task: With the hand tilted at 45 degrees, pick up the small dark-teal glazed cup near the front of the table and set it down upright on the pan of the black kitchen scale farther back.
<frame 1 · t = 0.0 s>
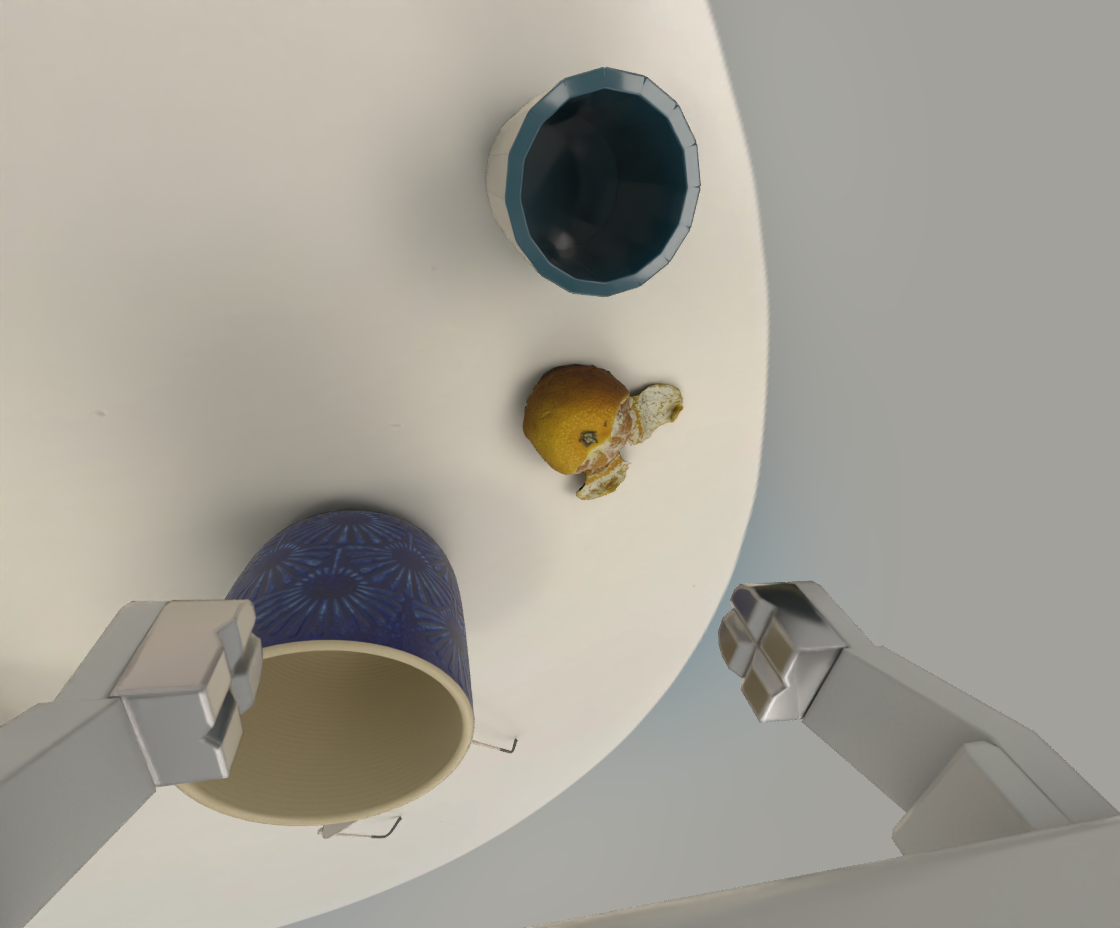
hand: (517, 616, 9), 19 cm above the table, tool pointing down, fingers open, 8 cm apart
fruit: (594, 430, 30), on the table
cup: (556, 184, 23), on the table
planter: (360, 570, 31), on the table
eyeglasses: (423, 761, 42), on the table
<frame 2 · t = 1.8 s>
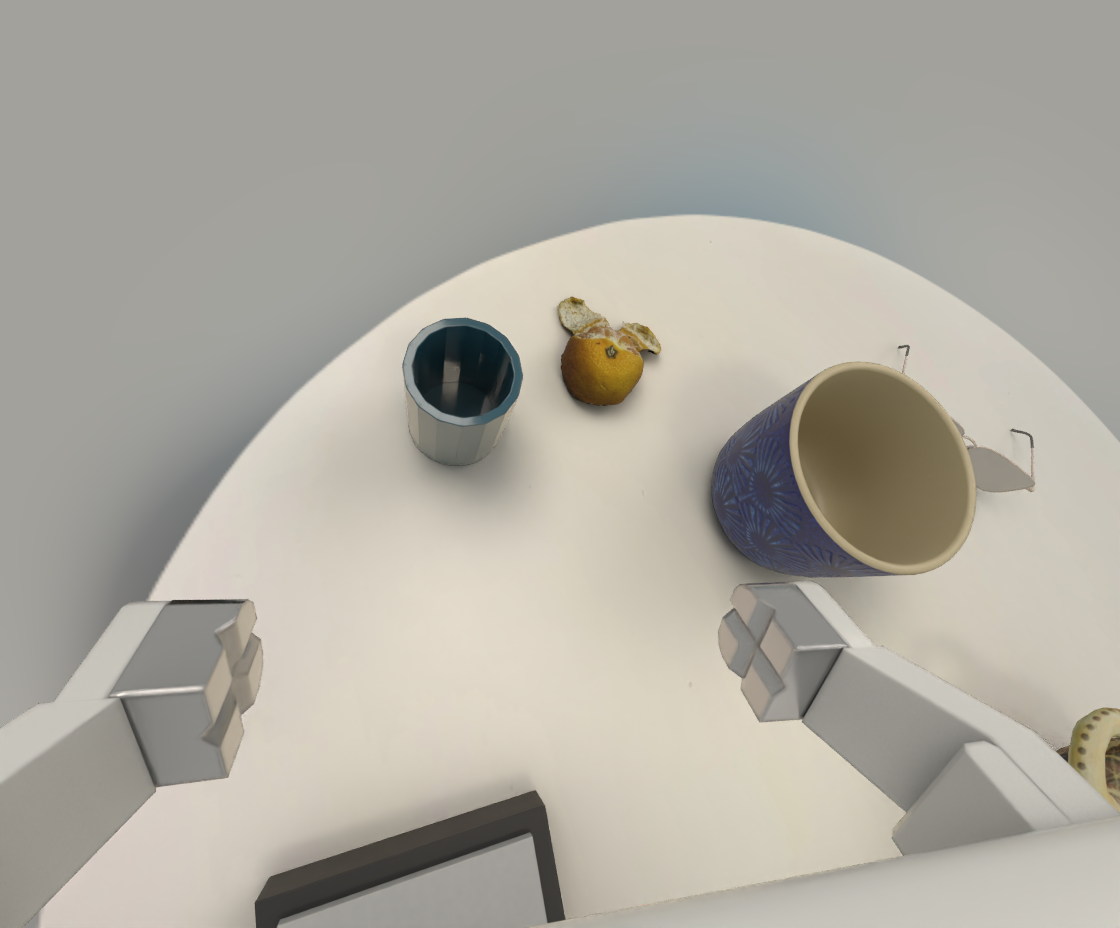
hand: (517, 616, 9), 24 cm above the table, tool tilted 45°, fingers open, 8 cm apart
fruit: (606, 355, 39), on the table
cup: (456, 421, 35), on the table
planter: (766, 500, 39), on the table
ceramic bowl: (1031, 853, 37), on the table
eyeglasses: (942, 421, 46), on the table
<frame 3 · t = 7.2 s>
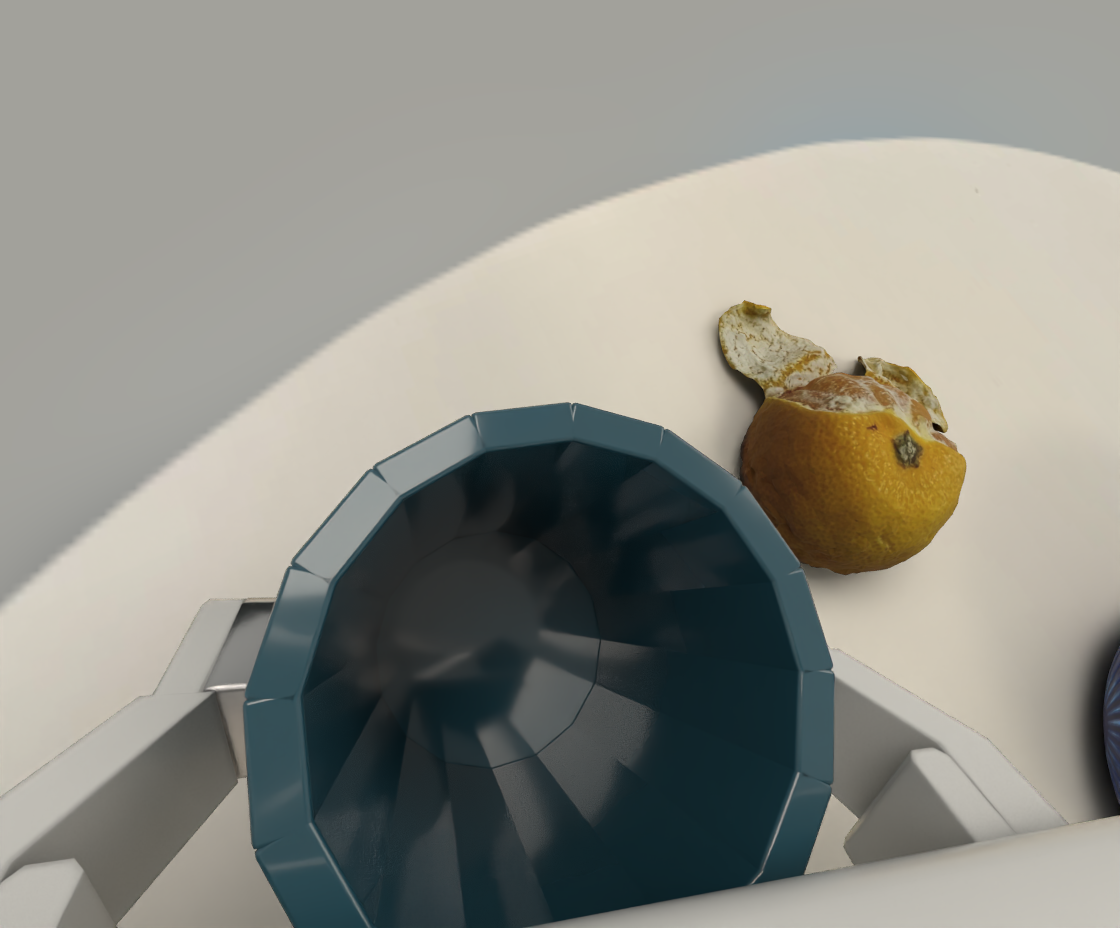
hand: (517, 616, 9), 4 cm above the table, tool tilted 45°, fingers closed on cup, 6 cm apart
fruit: (823, 433, 17), on the table
cup: (491, 641, 13), on the table, touching gripper
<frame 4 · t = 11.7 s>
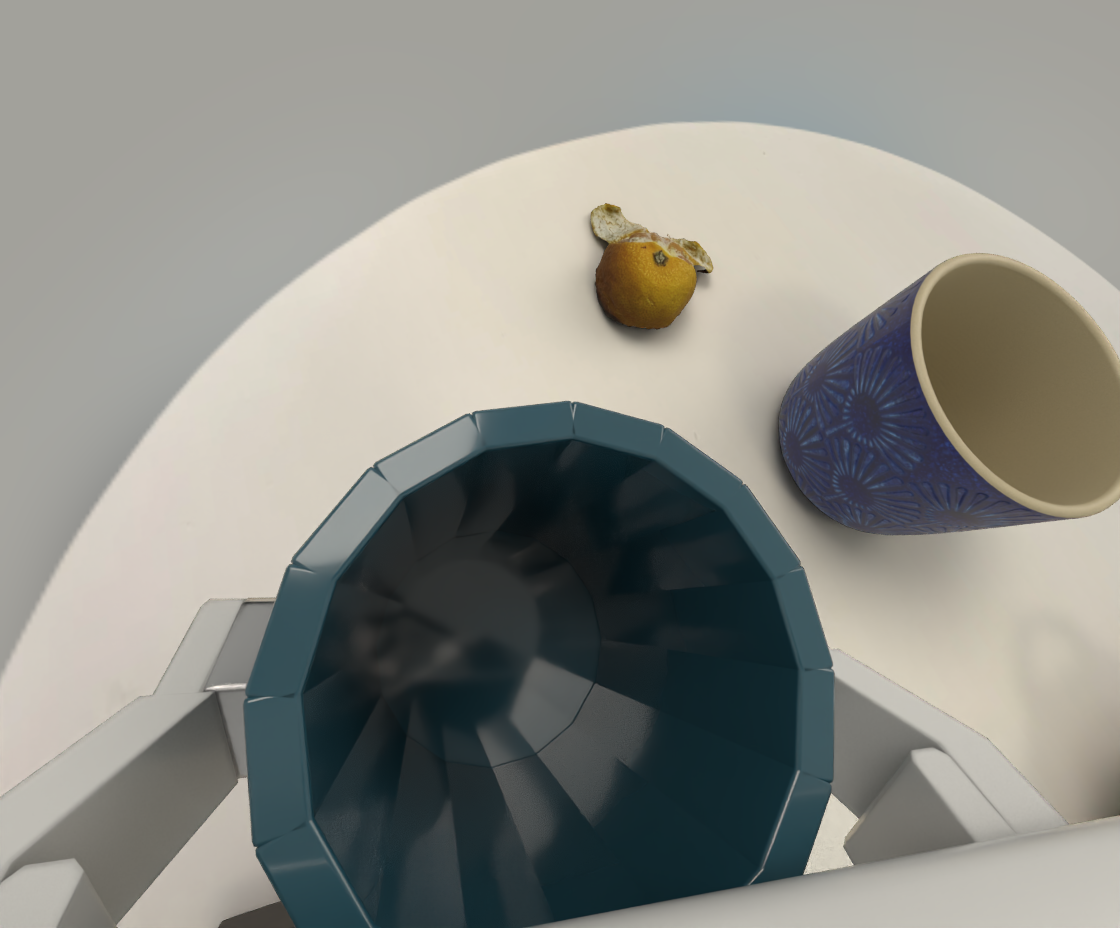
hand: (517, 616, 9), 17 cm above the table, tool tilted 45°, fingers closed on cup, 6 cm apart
fruit: (648, 274, 33), on the table
cup: (491, 640, 13), point 12 cm above the table, touching gripper
planter: (839, 450, 33), on the table
when the fingers open (7 cm above the table, at t = 16.6 s): cup stays where it is, resting on scale.
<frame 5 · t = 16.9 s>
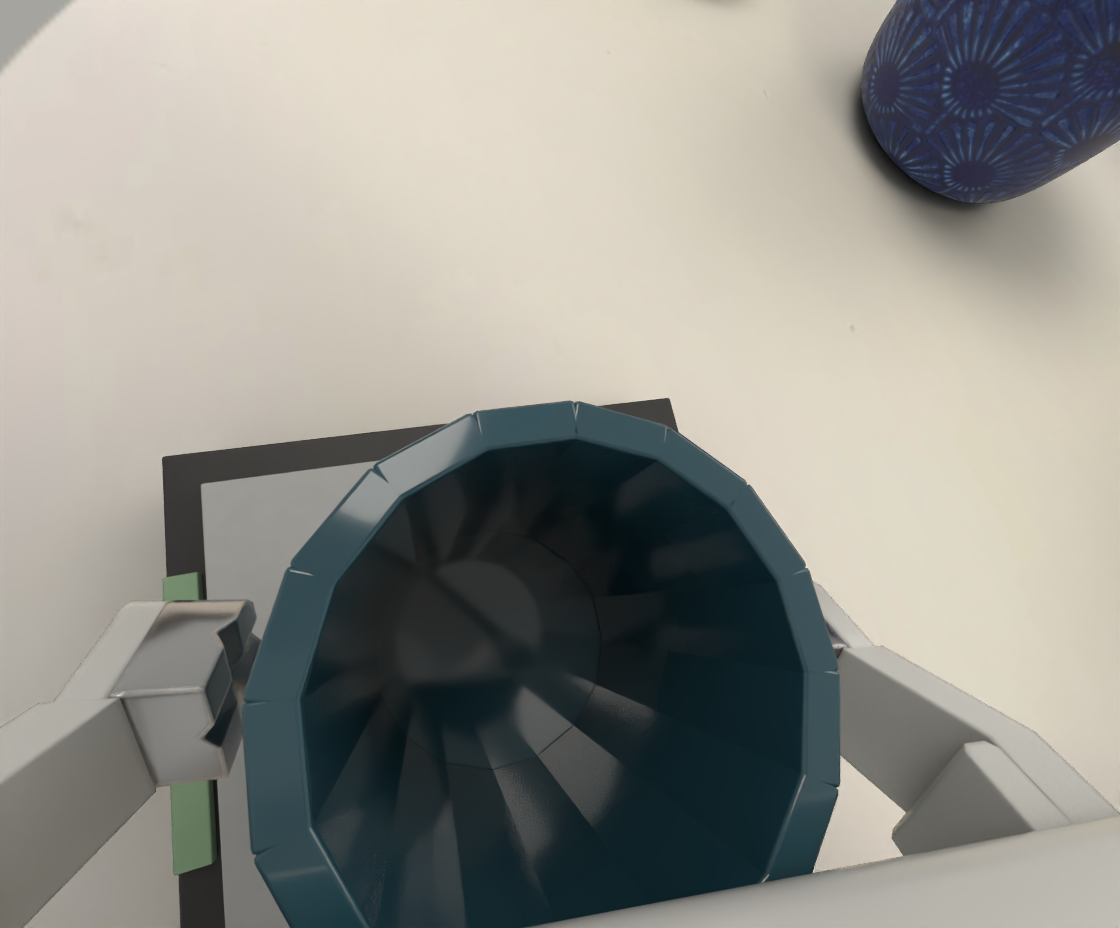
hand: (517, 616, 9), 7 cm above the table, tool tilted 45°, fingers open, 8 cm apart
scale: (478, 636, 16), on the table
cup: (491, 641, 13), point 3 cm above the table, touching scale
planter: (926, 138, 28), on the table
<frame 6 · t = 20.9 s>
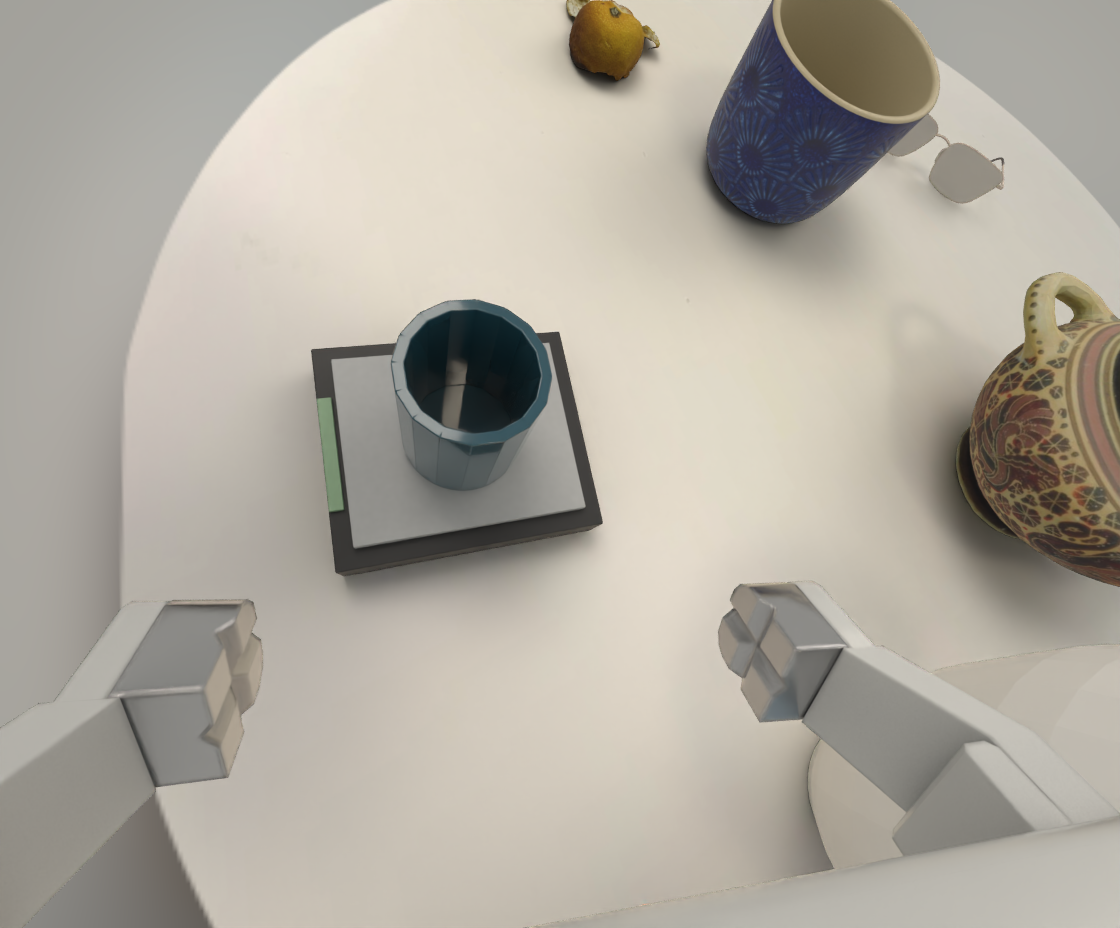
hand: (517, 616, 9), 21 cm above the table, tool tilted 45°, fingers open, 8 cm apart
vase: (856, 786, 31), on the table
scale: (458, 451, 31), on the table
fruit: (610, 48, 43), on the table
cup: (462, 434, 28), point 3 cm above the table, touching scale
planter: (756, 180, 43), on the table
ceramic bowl: (999, 479, 41), on the table
eyeglasses: (920, 148, 50), on the table
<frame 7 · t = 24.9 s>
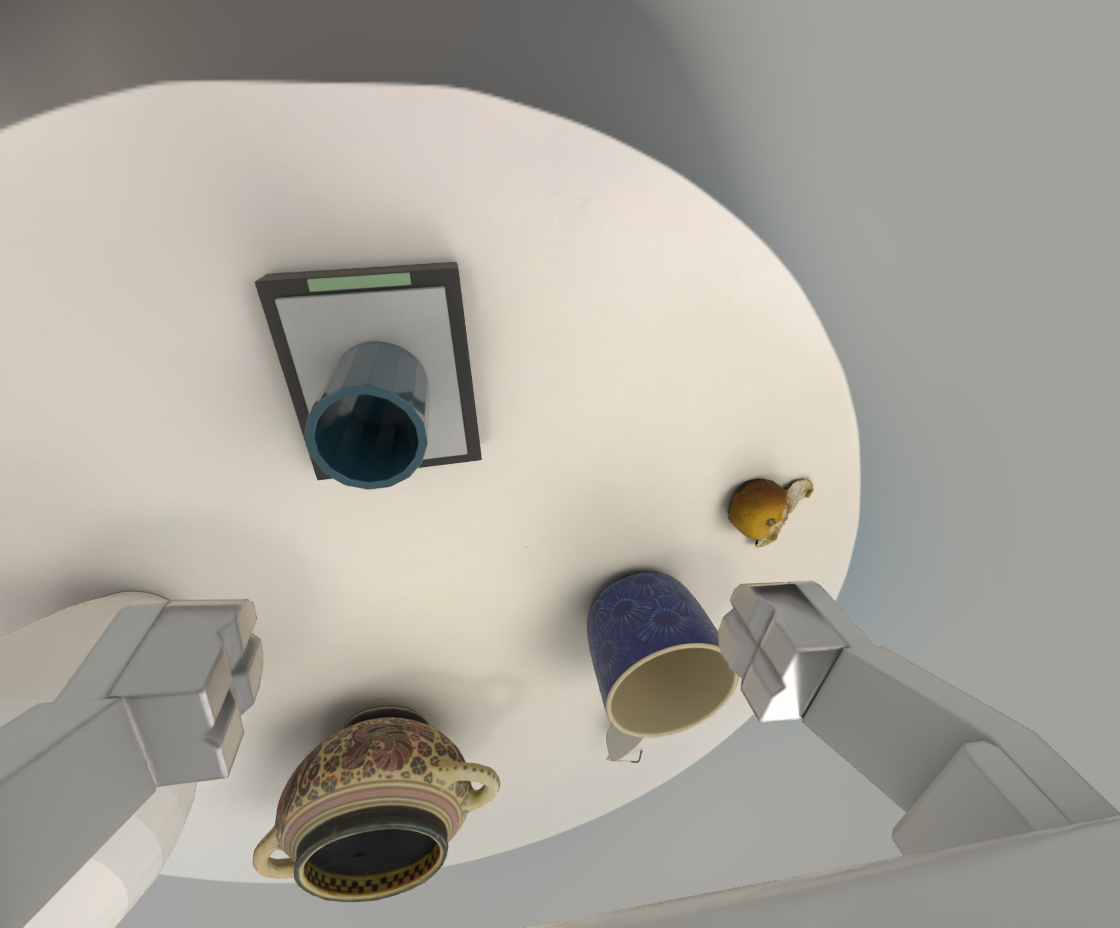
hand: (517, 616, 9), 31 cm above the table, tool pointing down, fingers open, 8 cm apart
vase: (141, 621, 44), on the table
scale: (385, 369, 37), on the table
fruit: (762, 508, 52), on the table
cup: (381, 386, 35), point 3 cm above the table, touching scale
planter: (633, 603, 55), on the table
ceramic bowl: (385, 730, 57), on the table
eyeglasses: (657, 712, 66), on the table
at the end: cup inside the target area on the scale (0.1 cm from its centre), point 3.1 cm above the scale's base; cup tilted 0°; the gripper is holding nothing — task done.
